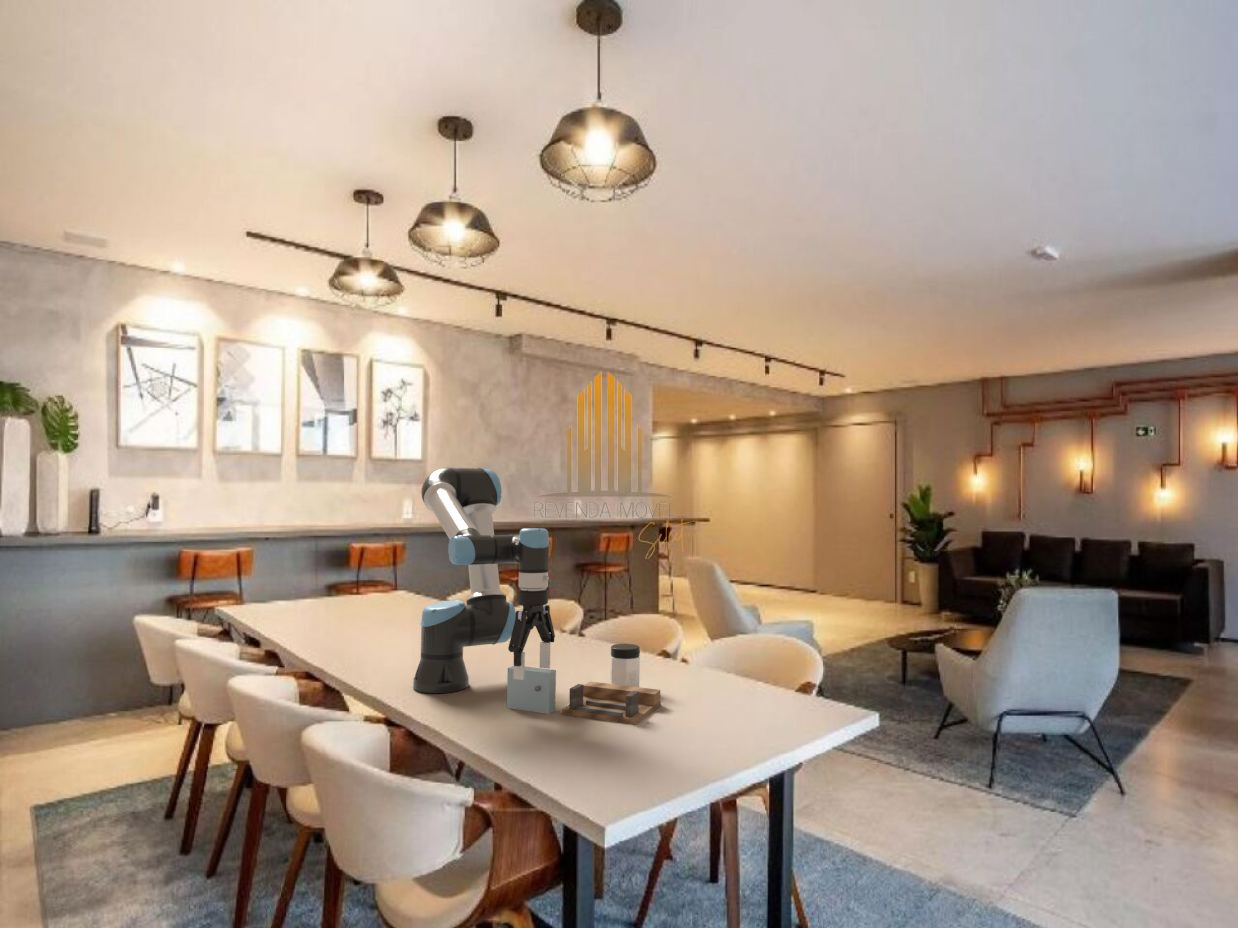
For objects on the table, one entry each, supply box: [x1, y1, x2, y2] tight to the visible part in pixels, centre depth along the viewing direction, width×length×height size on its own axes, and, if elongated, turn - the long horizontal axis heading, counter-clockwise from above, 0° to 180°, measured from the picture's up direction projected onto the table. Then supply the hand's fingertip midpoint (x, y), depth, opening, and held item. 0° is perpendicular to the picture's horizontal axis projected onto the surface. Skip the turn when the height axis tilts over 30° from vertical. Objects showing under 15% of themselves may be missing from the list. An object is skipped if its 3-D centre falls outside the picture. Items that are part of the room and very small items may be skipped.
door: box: [506, 665, 557, 715], centre depth 182 cm, size 12×4×10 cm, turn 68°
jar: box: [609, 643, 641, 687], centre depth 202 cm, size 9×8×12 cm
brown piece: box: [560, 681, 662, 726], centre depth 183 cm, size 20×18×6 cm
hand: (532, 673), depth 183 cm, fingers open, 13 cm apart
